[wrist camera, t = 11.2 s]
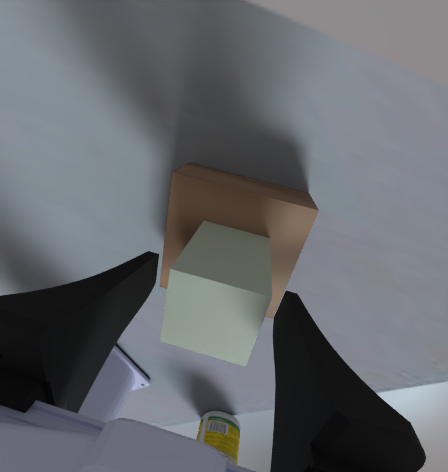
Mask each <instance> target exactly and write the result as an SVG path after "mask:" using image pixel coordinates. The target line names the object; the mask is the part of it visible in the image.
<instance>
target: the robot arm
mask: <svg viewBox="0 0 448 472" xmlns="http://www.w3.org/2000/svg"><path fill="white" fill-rule="evenodd" d="M158 259H159V254H157V253H153V252H150V251H148V252H146V253H144V254H142V255H140V256H138V257H136V258H134V259H132V260H129V261H127V262H125V263H123V264H121V265H119V266H117V267H114V268H112V269H110V270H107V271H105V272H103V273H100V274H97V275H95V276H92V277H89V278H86V279H83V280H80V281H76V282H72V283H68V284H65V285H61V286H57V287H52V288H48V289H43V290H37V291H32V292H25V293H18V294H10V295H2V296H0V472H255V471H252V470H249V469H246V468H243V467H240V466H237V465H234V464H231V463H228V462H226V460H225V458H224V457H223V455H222V454H221V453H220V452H219V451H218V450H217V449H216V448H214V447H212V446H210V445H208V444H206V443H204V442H201V441H198V440H195V439H192V438H189V437H186V436H183V435H180V434H176V433H173V432H170V431H167V430H164V429H161V428H158V427H155V426H152V425H149V424H145V423H142V422H139V421H136V420H131V419H126V418H118V416H119V414H120V412H121V410H122V408H123V406H124V404H125V402H126V400H127V398H128V396H129V394H130V392H131V391H132V390H136V389H140V388H144V387H147V386H149V385H150V383H151V382H150V380H149V379H148V378H147V377H146V376H145V375H144V374H143V373H142V372H141V371H140V370H139V369H138V368H137V367H136V366H135V365H134V364H133V363H132V362H131V361H130V360H129V359H128V358H127V357H126V356H125V355H124V354H123V353H122V352H121V351H120V350H119V349H118V348H117V347H116V346H115V344H116V342H117V341H118V339H119V337H120V336H121V334H122V333H123V331H124V330H125V328H126V327H127V326H128V324H129V323H130V322H131V320H132V319H133V317H134V316H135V315H136V313H137V312H138V311H139V309H140V308H141V306H142V305H143V304H144V302H145V301H146V299H147V298H148V296H149V294H150V293H151V291H152V289H153V287H154V285H155V283H156V276H157V267H158ZM273 347H274V362H275V380H276V390H275V415H274V432H273V448H272V460H271V472H417V471H418V470H419V469H421V467H423V465H424V463H425V460H426V456H425V452H424V450H423V448H422V446H421V444H420V442H419V439H418V437H417V435H416V433H415V431H414V429H413V427H412V425H411V423H410V422H409V421H407V420H406V419H405V418H404V417H403V416H402V415H400V414H399V413H398V412H397V411H396V410H394V409H393V408H392V407H391V406H390V405H388V404H387V403H386V402H385V401H384V400H383V399H381V398H380V397H379V396H378V395H377V394H376V393H375V392H374V391H373V390H372V389H371V388H370V387H369V386H368V385H367V384H365V383H364V382H363V381H362V380H361V379H360V378H359V377H358V375H357V374H356V373H355V372H354V371H353V370H352V369H351V368H350V367H349V366H348V365H347V364H346V363H345V362H344V360H343V359H342V358H341V357H340V356H339V355H338V353H337V352H336V351H335V350H334V349H333V347H332V346H331V345H330V343H329V342H328V341H327V339H326V338H325V337H324V335H323V334H322V332H321V331H320V330H319V328H318V327H317V325H316V324H315V322H314V321H313V319H312V317H311V316H310V314H309V313H308V311H307V309H306V308H305V306H304V304H303V303H302V301H301V299H300V297H299V296H298V294H296V293H293V292H289V291H286V292H285V294H284V296H283V299H282V301H281V303H280V305H279V307H278V310H277V312H276V314H275V316H274V324H273ZM117 418H118V419H117Z"/></svg>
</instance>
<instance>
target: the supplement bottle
mask: <svg viewBox="0 0 448 472" xmlns="http://www.w3.org/2000/svg"><path fill="white" fill-rule="evenodd" d="M239 438H240V424H239V422H238V420H237V419H236V418H235V417H233V416H232V415H230V414H228V413H226V412H222V411H210V412H207V413H205V414H204V415H203V417H202V419H201V423H200V427H199V431H198V435H197V440H198V441H201V442H204V443H206V444H208V445H210V446H212V447H214V448H216V449H217V450H218V451H219V452H220V453H221V454H222V455H223V457H224V458H225V460H226V462H228V463H231V464H234V465H237V460H238V450H239Z"/></svg>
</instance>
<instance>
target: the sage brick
mask: <svg viewBox="0 0 448 472" xmlns="http://www.w3.org/2000/svg"><path fill="white" fill-rule="evenodd" d="M271 299H272V278H271V251H270V238H268V237H264V236H260V235H256V234H253V233H249V232H245V231H241V230H238V229H234V228H230V227H226V226H223V225H219V224H215V223H211V222H207V221H203V222H202V224H201V225H200V227H199V228H198V230H197V231H196V233H195V234H194V235H193V237H192V238H191V240H190V241H189V243H188V244H187V245H186V247H185V248H184V250H183V251H182V253H181V254H180V255H179V257H178V258H177V260H176V261H175V263H174V264H173V265H172V267H171V268H170V274H169V281H168V288H167V295H166V302H165V309H164V317H163V324H162V331H161V338H160V341H161V342H164V343H168V344H171V345H174V346H178V347H181V348H184V349H188V350H191V351H194V352H198V353H201V354H204V355H208V356H211V357H214V358H218V359H221V360H224V361H228V362H231V363H234V364H238V365H241V366H245V367H246V364H247V362H248V359H249V356H250V354H251V351H252V349H253V346H254V343H255V341H256V338H257V336H258V333H259V330H260V328H261V325H262V323H263V320H264V317H265V315H266V312H267V310H268V307H269V304H270V302H271Z"/></svg>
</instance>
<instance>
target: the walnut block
mask: <svg viewBox="0 0 448 472" xmlns="http://www.w3.org/2000/svg"><path fill="white" fill-rule="evenodd" d="M318 211H319V210H318V208H317V206H316V205H315V203H314V201H313V199H312V198H311V196H310V194H309V193H306V192H302V191H298V190H294V189H290V188H286V187H282V186H278V185H274V184H270V183H267V182H263V181H259V180H255V179H251V178H247V177H243V176H239V175H235V174H231V173H227V172H223V171H220V170H216V169H212V168H208V167H204V166H200V165H196V164H192V163H188V164H187V165H185V166H183V167H181V168H179V169H177V170H176V171H174V172H172V178H171V187H170V196H169V205H168V214H167V223H166V232H165V241H164V250H163V259H162V268H161V277H160V286H159V287H162V288H166V289H167V288H168V281H169V274H170V268H171V267H172V265H173V264H174V263H175V261H176V260H177V258H178V257H179V255H180V254H181V253H182V251H183V250H184V248H185V247H186V245H187V244H188V243H189V241H190V240H191V238H192V237H193V235H194V234H195V233H196V231H197V230H198V228H199V227H200V225H201V224H202V222H203V221H207V222H211V223H215V224H219V225H223V226H226V227H230V228H234V229H238V230H241V231H245V232H249V233H253V234H256V235H260V236H264V237H268V238H270V251H271V278H272V299H271V302H270V304H269V307H268V310H267V312H266V315H265V317H268V318H273V316H274V314H275V311H276V309H277V307H278V304H279V302H280V300H281V297H282V295H283V293H284V290H285V288H286V286H287V283H288V281H289V279H290V276H291V274H292V271H293V269H294V267H295V264H296V262H297V260H298V257H299V255H300V253H301V250H302V248H303V246H304V243H305V241H306V239H307V236H308V234H309V232H310V229H311V227H312V225H313V222H314V220H315V218H316V215H317V213H318Z"/></svg>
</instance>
